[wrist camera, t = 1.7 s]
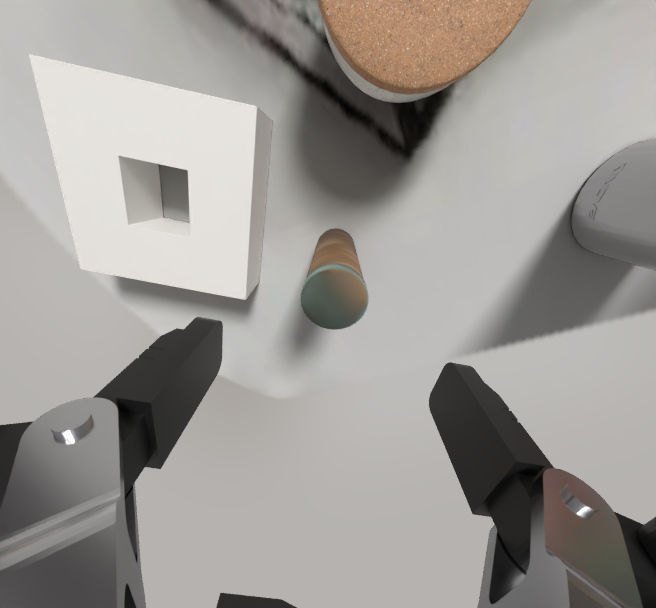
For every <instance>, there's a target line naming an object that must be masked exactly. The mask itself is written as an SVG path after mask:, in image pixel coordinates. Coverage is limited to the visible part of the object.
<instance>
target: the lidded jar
mask: <svg viewBox="0 0 656 608" xmlns="http://www.w3.org/2000/svg"><path fill="white" fill-rule="evenodd" d="M530 2H531V0H318V4H319V7H320V12H321V18H322V23H323V26H324V29H325V33H326V36H327V39H328V42H329V45H330V47H331V50H332V52H333V54H334V56H335V59H336V61H337V62H338V64H339V65H340V67H341V69H342V70H343V72H344V73H345V74H346V76H347V77H348V78H349V79H350V80H351V81H352V83H353V84H354V85H355V86H357V87H358V88H359V89H360V90H361V91H363V92H364V93H366V94H368V95H369V96H371V97H373V98H375V99H379V100H382V101H385V102H394V103H403V102H412V101H416V100H419V99H423V98H426V97H428V96H430V95H432V94H434V93H437V92H439V91H441V90H443V89H444V88H446V87H447V86H449V85H450V84H452V83H454V82H456V81H458V80H459V79H461V78H462V77H464V76H465V75H467V74H468V73H470V72H471V71H473V70H474V69H475V68H477V67H478V66H479V65H480V64H481V63H482V62H483V61H484V60H486V59H487V58H488V57H489V56H490V55H491V54H492V53H493V52H495V50H496V49H497V48H498V47H499V46H500V45H501V44H502V43H503V41H504V40H505V39H506V38H507V37H508V36H509V35H510V33H511V32H512V30H513V29H514V27H515V26H516V25H517V23H518V22H519V20H520V19H521V17H522V16H523V15H524V13H525V11H526V9H527V8H528V6H529V4H530Z"/></svg>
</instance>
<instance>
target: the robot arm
mask: <svg viewBox="0 0 656 608" xmlns="http://www.w3.org/2000/svg"><path fill="white" fill-rule="evenodd" d="M572 230H573V234H574V236H575V238H576V240H577V242H578V243H579V244H580V245H581V246H582V247H583V248H585V249H587V250H589V251H591V252H593V253H597V254H600V255H604V256H607V257H611V258H614V259H618V260H621V261H625V262H628V263H632V264H635V265H638V266H642V267H645V268H649V269H652V270H656V139H651V140H646V141H642V142H639V143H636V144H634V145H632V146H629V147H627V148H625V149H623V150H622V151H620V152H618V153H617V154H615V155H614V156H612V157H611V158H610V159H608V160H607V161H606V162H605V163H604V164H602V165H601V166H600V167H599V168H598V169H597V170H596V171H595V172H594V174H593V175H592V176H591V177H590V178H589V179H588V181H587V182H586V184H585V185H584V187H583V188H582V190H581V191H580V194H579V196H578V198H577V200H576V202H575V205H574V209H573V213H572ZM222 331H223V326H222V322H221V321H218V320H213V319H207V318H202V317H196V318H195V319H194V320H193V321H192V322H191V323H190V324H189V325H188V326H187V327H186V328H185V329H184V330H183V329H175V330H173V331H171V332H169V333H167V334H165V335H162V336H161V337H160V338H158V339H157V340H156V341H155V342H154V343H153V344H152V345H151V346H150V347H149V349H146V350H145V351H144V352H143V353H142V354H141V355H140V356H139V358H136V359H135V360H134V361H133V362H132V363H131V364H130V365H129V366H127V367H126V369H124V370H123V371H122V372H121V373H120V374H119V375H118V376H116V377H115V378H114V379H113V380H112V381H111V382H110V383H109V384H108V385H107V386H105V387H104V388H103V389H102V390H101V391H100V392H99V393H98V394H97V395H95V396H94V397H93V398H83V399H78V400H74V401H71V402H67V403H65V404H62V405H60V406H58V407H56V408H53V409H51V410H50V411H48V412H46V413H45V414H43V415H42V416H40V417H39V418H37V420H35V421H34V422H26V423H18V424H17V423H16V424H7V425H0V608H146V603H145V594H144V587H143V581H142V573H141V563H140V550H139V535H138V521H137V507H136V494H135V484H134V482H135V481H136V479H137V478H138V476H139V475H140V473H141V472H142V470H143V469H144V467H151V468H157V469H161V467H162V466H163V464H164V462H165V460H166V459H167V457H168V455H169V454H170V452H171V450H172V449H173V447H174V446H175V444H176V442H177V441H178V439H179V437H180V436H181V434H182V432H183V431H184V429H185V427H186V426H187V424H188V422H189V421H190V419H191V417H192V416H193V414H194V412H195V411H196V409H197V407H198V406H199V404H200V402H201V401H202V399H203V397H204V396H205V394H206V392H207V391H208V389H209V387H210V385H211V384H212V382H213V381H214V379H215V377H216V376H217V374H218V371H219V369H220V365H221V361H222ZM429 407H430V411H431V414H432V416H433V419H434V421H435V424H436V426H437V429H438V431H439V433H440V436H441V438H442V441H443V443H444V445H445V448H446V450H447V453H448V455H449V458H450V460H451V463H452V465H453V467H454V470H455V472H456V474H457V477H458V479H459V482H460V484H461V487H462V489H463V491H464V494H465V496H466V498H467V501H468V504H469V506H470V508H471V511H472V513H473V514H475V515H482V516H490V517H492V519H493V522H494V523H495V525H494V526H493V527H492V528H491V530H490V533H489V539H488V545H487V552H486V558H485V565H484V571H483V578H482V585H481V591H480V597H479V603H478V607H477V608H656V517H655V518H654V519H652V520H650V521H649V522H648V523H646V524H645V525H643V524H641V523H638V522H636V521H634V520H632V519H629V518H627V517H625V516H622V515H620V514H618V513H616V512H613V510H612V509H611V507H610V506H609V505H608V504H607V503H606V501H605V500H603V498H602V497H601V496H600V495H599V494H598V493H597V492H596V491H595V490H594V489H592V488H591V487H590V486H589V485H587V484H586V483H585V482H583V481H582V480H580V479H579V478H577V477H576V476H574V475H572V474H570V473H568V472H566V471H563V470H560V469H555V468H554V467H553V466H552V465H551V463H550V462H549V461H548V459H547V458H546V457H545V455H544V454H543V453H542V451H541V450H540V449H539V447H538V446H537V445H536V443H535V442H534V441H533V440H532V438H531V437H530V436H529V434H528V433H527V432H526V430H525V429H524V428H523V426H522V425H521V424H520V423H518V422H517V418H516V417H515V416H514V415H513V413H512V412H511V411H509V408H508V407H507V405H506V404H505V403H504V401H503V400H502V399H501V397H500V396H499V395H498V394H497V393H496V392H495V391H493V390H492V389H491V388H490V387H489V386H488V385H487V384H485V383H484V382H483V381H482V379H481V378H480V376H479V375H478V373H477V372H476V371H475V369H474V368H473V367H471V366H467V365H461V364H456V363H447V364H446V365H445V366H444V368H443V370H442V372H441V374H440V376H439V378H438V380H437V382H436V384H435V386H434V388H433V390H432V392H431V394H430V398H429ZM217 608H296V607H295V606H293V605H291V604H289V603H287V602H285V601H283V600H280V599H271V598H262V597H254V596H244V595H236V594H226V593H221V594H220V597H219V600H218V604H217Z"/></svg>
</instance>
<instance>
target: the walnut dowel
mask: <svg viewBox="0 0 656 608" xmlns="http://www.w3.org/2000/svg"><path fill="white" fill-rule="evenodd" d="M368 300H369V298H368V291H367V288H366V284H365V282H364V280H363V276H362V272H361V268H360V265H359V261H358V257H357V253H356V249H355V246H354V242H353V239H352V237H351V236H350V235H349V234H348V233H347V232H345V231H344V230H341V229H331V230H328V231H326V232H325V233H323V234H322V235H321V237H320V238H319V240H318V243H317V246H316V249H315V253H314V256H313V259H312V263H311V266H310V269H309V272H308V276H307V279H306V281H305V283H304V286H303V289H302V292H301V305H302V308H303V311H304V313H305V314H306V316H307V317H308V318H309V319H310V320H311V321H312V322H313V323H315V324H316V325H318V326H320V327H323V328H327V329H343V328H346V327H349V326H351V325H353V324H355V323H356V322H357V321H359V320H360V319H361V318H362V316H363V315H364V313H365V311H366V309H367V306H368Z"/></svg>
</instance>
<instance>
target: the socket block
mask: <svg viewBox="0 0 656 608" xmlns="http://www.w3.org/2000/svg"><path fill="white" fill-rule="evenodd" d="M29 56H30V60H31V65H32V69H33V73H34V77H35V81H36V86H37V90H38V94H39V98H40V102H41V106H42V111H43V115H44V119H45V123H46V127H47V131H48V136H49V140H50V144H51V148H52V152H53V156H54V161H55V165H56V169H57V173H58V177H59V181H60V186H61V190H62V194H63V198H64V202H65V206H66V211H67V215H68V219H69V223H70V227H71V231H72V236H73V240H74V244H75V248H76V252H77V256H78V261H79V265H80V269H82V270H88V271H93V272H98V273H104V274H109V275H114V276H120V277H125V278H131V279H136V280H141V281H147V282H152V283H157V284H163V285H168V286H173V287H179V288H184V289H189V290H195V291H200V292H205V293H211V294H216V295H222V296H227V297H232V298H238V299H243V300H246V299H247V297H248V296H249V295H250V293H251V292H252V291H253V290H254V288H255V287H256V286H257V284H258V283H259V281H260V269H261V257H262V245H263V233H264V221H265V209H266V197H267V185H268V173H269V160H270V148H271V136H272V124H273V120H271V119H270V118H269V117H268V116H267V115H266V114H265V113H264V112H263V111H262V110H260V109H259V108H258V107H257V106H253V105H249V104H245V103H240V102H236V101H231V100H227V99H223V98H218V97H214V96H210V95H205V94H201V93H197V92H192V91H188V90H183V89H179V88H175V87H170V86H166V85H162V84H157V83H153V82H148V81H144V80H140V79H135V78H131V77H127V76H122V75H118V74H114V73H109V72H105V71H100V70H96V69H92V68H87V67H83V66H79V65H74V64H70V63H66V62H61V61H57V60H52V59H48V58H44V57H39V56H35V55H31V54H29ZM159 164H161V165H165V166H170V167H175V168H179V169H184V170H188V189H189V214H190V223H188V222H183V221H178V220H173V219H168V218H163V208H162V196H161V184H160V172H159Z"/></svg>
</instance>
